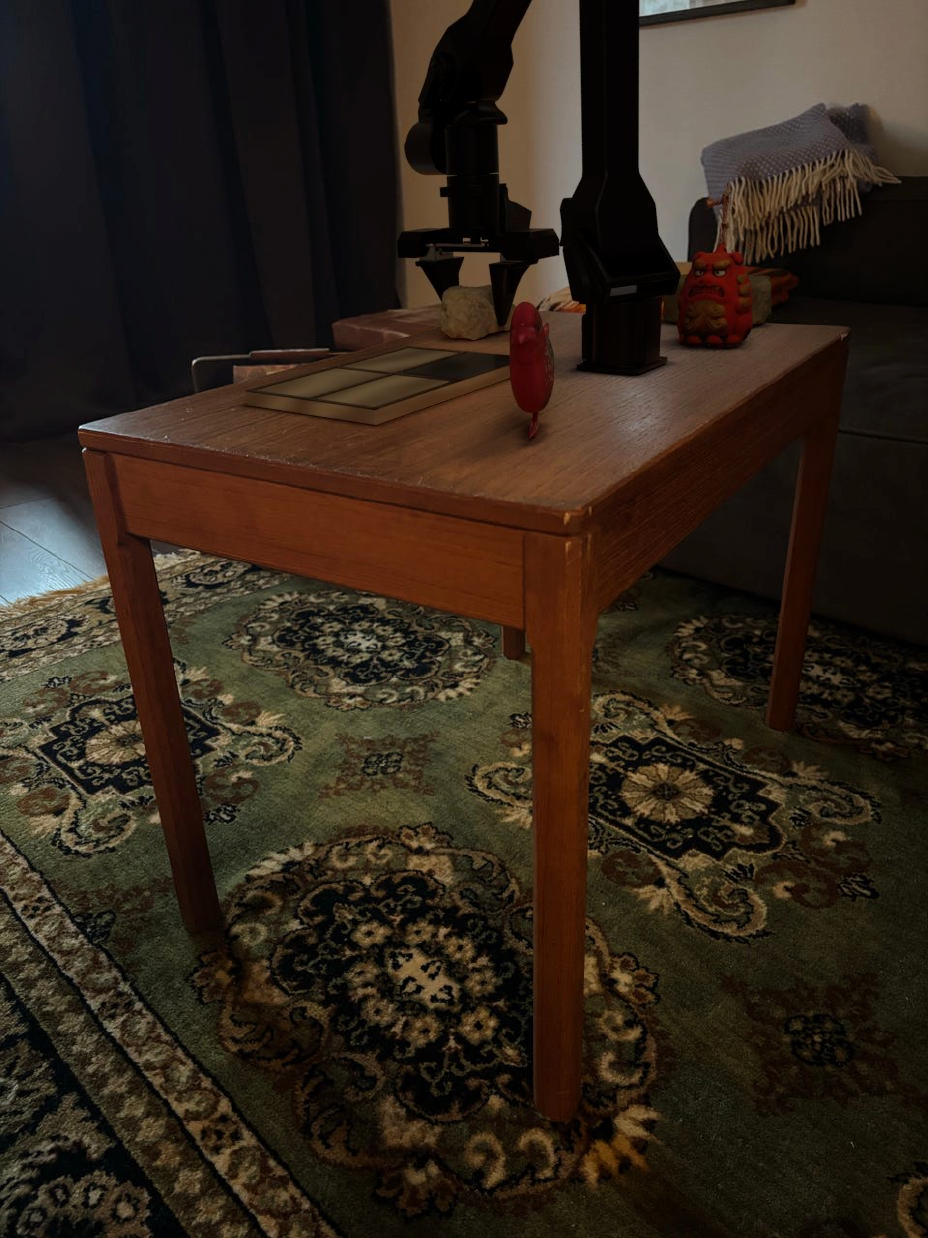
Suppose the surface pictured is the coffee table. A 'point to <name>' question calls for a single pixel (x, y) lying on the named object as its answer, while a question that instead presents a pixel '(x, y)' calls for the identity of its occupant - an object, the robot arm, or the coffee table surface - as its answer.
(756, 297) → the stone block
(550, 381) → the decorative bird figurine
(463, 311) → the stone tool
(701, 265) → the red clay folk toy
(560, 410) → the coffee table surface
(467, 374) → the board
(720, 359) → the coffee table surface
